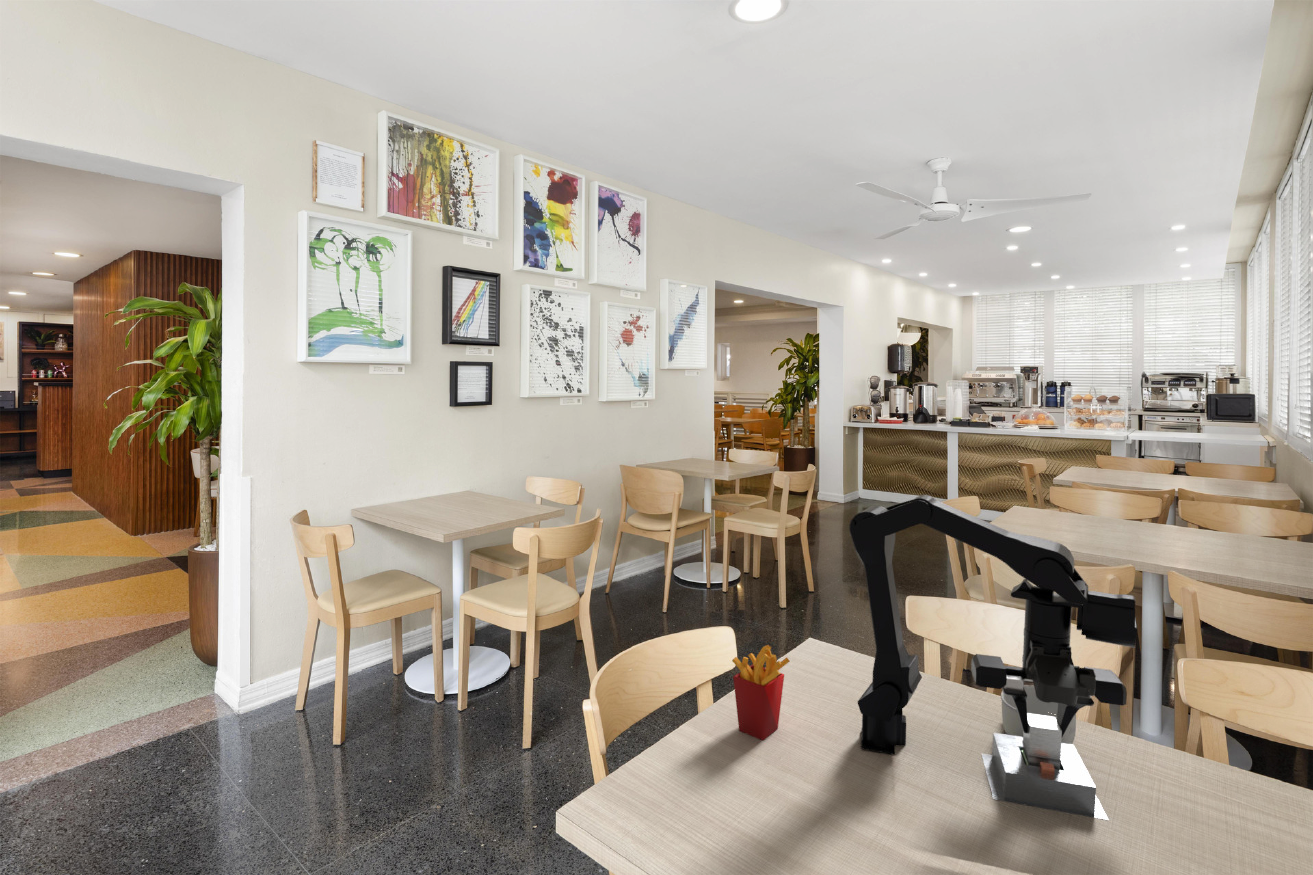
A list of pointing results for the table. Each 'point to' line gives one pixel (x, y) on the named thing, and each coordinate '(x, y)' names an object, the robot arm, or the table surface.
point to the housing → (1041, 779)
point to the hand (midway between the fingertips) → (1041, 734)
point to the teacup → (1033, 707)
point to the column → (1042, 741)
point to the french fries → (759, 693)
